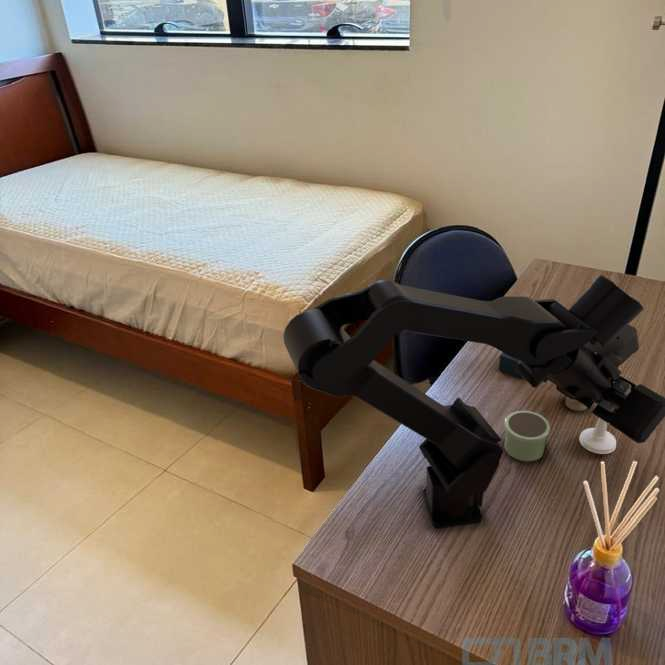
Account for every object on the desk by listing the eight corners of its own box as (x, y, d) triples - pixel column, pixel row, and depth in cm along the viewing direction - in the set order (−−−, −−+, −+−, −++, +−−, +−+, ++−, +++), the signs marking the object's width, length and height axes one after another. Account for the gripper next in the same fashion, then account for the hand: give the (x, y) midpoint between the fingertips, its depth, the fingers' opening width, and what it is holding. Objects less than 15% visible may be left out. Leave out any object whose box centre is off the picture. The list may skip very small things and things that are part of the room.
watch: (532, 383, 102) (540, 327, 96) (489, 366, 106) (494, 312, 101) (548, 367, 105) (556, 313, 99) (505, 351, 110) (511, 298, 104)
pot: (511, 465, 86) (514, 441, 84) (496, 436, 92) (498, 413, 89) (553, 460, 87) (557, 436, 84) (536, 431, 92) (539, 407, 89)
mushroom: (567, 417, 94) (572, 392, 92) (553, 396, 98) (557, 372, 96) (599, 413, 94) (605, 388, 92) (584, 392, 99) (589, 368, 96)
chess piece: (572, 435, 89) (583, 381, 84) (600, 427, 90) (613, 373, 85) (593, 457, 85) (607, 402, 80) (623, 449, 86) (638, 393, 81)
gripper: (681, 346, 67) (713, 390, 77) (550, 282, 81) (593, 327, 91) (618, 427, 68) (659, 460, 78) (500, 350, 82) (548, 387, 92)
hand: (612, 403), depth 85 cm, fingers closed on chess piece
